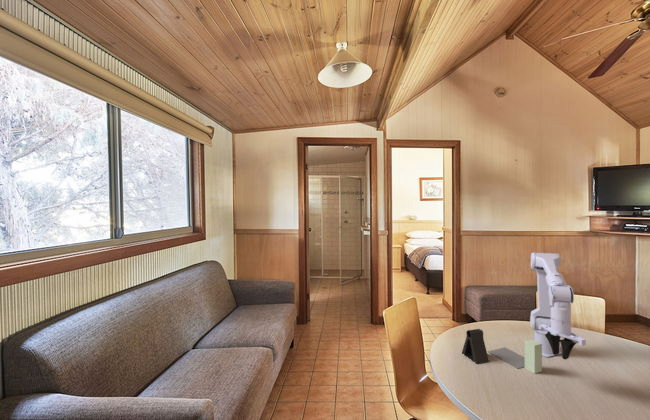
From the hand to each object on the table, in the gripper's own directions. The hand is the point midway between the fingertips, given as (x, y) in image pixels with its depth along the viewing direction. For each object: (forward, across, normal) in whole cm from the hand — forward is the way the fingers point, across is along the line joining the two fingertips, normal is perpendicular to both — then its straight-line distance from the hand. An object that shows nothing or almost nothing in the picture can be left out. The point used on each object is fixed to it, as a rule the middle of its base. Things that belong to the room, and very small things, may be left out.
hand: (560, 356), depth 106 cm
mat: (+10, -20, 0) cm, 22 cm away
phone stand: (+11, -25, -14) cm, 31 cm away
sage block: (+10, -10, 0) cm, 14 cm away
